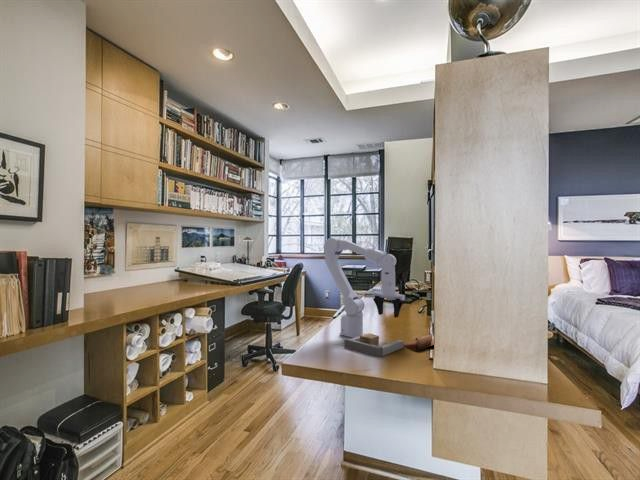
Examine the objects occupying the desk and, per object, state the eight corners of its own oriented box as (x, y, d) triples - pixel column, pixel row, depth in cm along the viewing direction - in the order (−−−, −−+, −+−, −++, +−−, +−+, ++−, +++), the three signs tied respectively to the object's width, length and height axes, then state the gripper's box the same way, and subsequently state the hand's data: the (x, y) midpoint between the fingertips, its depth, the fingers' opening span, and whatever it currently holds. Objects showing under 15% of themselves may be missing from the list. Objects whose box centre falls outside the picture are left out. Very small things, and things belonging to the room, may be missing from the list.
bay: (344, 347, 121) (344, 339, 121) (369, 339, 132) (369, 331, 132) (379, 357, 109) (379, 348, 110) (403, 347, 121) (403, 339, 121)
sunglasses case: (427, 338, 133) (434, 326, 130) (440, 351, 128) (448, 338, 125) (399, 346, 122) (406, 333, 119) (412, 360, 117) (420, 347, 114)
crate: (359, 349, 119) (359, 335, 119) (367, 346, 122) (367, 333, 123) (370, 352, 115) (370, 338, 115) (379, 349, 119) (379, 335, 119)
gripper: (368, 282, 135) (368, 314, 134) (398, 285, 124) (398, 319, 124) (378, 281, 140) (378, 312, 139) (407, 283, 129) (407, 317, 129)
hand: (388, 315), depth 132 cm, fingers open, 7 cm apart
